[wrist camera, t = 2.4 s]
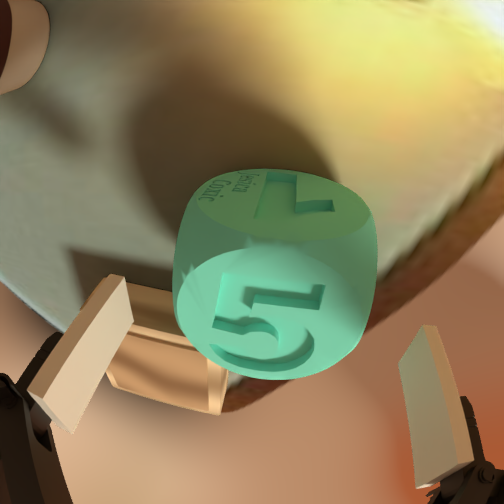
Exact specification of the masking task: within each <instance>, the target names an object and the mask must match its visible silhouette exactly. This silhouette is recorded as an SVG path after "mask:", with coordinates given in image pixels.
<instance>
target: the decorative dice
mask: <svg viewBox="0 0 504 504" xmlns="http://www.w3.org/2000/svg"><path fill="white" fill-rule="evenodd" d="M376 275H377V235H376V228H375V223H374V219H373V216H372V213H371V211H370V209H369V208H368V206H367V205H366V203H365V202H364V201H363V200H362V199H361V198H360V197H359V196H358V195H357V194H356V193H354V192H353V191H352V190H350V189H348V188H347V187H345V186H343V185H341V184H339V183H337V182H334V181H332V180H329V179H326V178H323V177H320V176H316V175H313V174H308V173H304V172H298V171H292V170H283V169H247V170H240V171H234V172H229V173H225V174H222V175H219V176H216V177H214V178H212V179H210V180H208V181H207V182H205V183H204V184H203V185H202V186H200V187H199V188H198V189H197V190H196V191H195V193H194V194H193V195H192V197H191V199H190V201H189V203H188V205H187V207H186V210H185V212H184V215H183V218H182V221H181V225H180V229H179V233H178V237H177V242H176V248H175V254H174V263H173V276H172V295H173V306H174V313H175V317H176V321H177V323H178V326H179V328H180V329H181V330H182V332H183V333H184V335H185V336H186V337H187V339H188V340H189V341H190V343H191V344H192V345H193V346H194V347H195V348H196V349H197V350H198V351H199V352H200V353H201V354H202V355H204V356H205V357H206V358H208V359H209V360H211V361H212V362H214V363H215V364H217V365H219V366H221V367H223V368H225V369H227V370H230V371H232V372H235V373H238V374H241V375H245V376H249V377H254V378H260V379H269V380H285V379H295V378H301V377H305V376H309V375H312V374H315V373H318V372H321V371H323V370H325V369H327V368H329V367H330V366H332V365H334V364H335V363H337V362H338V361H340V360H341V359H342V358H343V357H345V356H346V355H347V354H348V353H350V352H351V351H352V350H353V349H354V348H355V347H356V345H357V344H358V342H359V340H360V338H361V336H362V334H363V332H364V329H365V327H366V324H367V321H368V318H369V314H370V310H371V306H372V302H373V297H374V291H375V284H376Z"/></svg>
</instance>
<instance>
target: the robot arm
mask: <svg viewBox="0 0 504 504" xmlns="http://www.w3.org/2000/svg"><path fill="white" fill-rule="evenodd" d="M133 322H134V320H133V315H132V311H131V306H130V302H129V297H128V292H127V287H126V281H125V277H123V276H119V275H114V274H110V275H109V276H108V277H107V278H106V279H105V281H104V282H103V283H102V284H101V286H100V287H99V288H98V290H97V291H96V292H95V293H94V295H93V296H92V297H91V298H90V300H89V301H88V302H87V304H86V305H85V306H84V308H83V309H82V310H81V312H80V313H79V314H78V316H77V317H76V318H75V320H74V321H73V322H72V324H71V325H70V326H69V328H68V329H67V331H66V332H65V333H64V334H62V333H60V332H55V333H54V334H53V335H51V336H50V337H49V338H47V339H46V341H45V342H44V344H43V345H42V346H41V349H40V350H39V351H38V352H37V353H36V355H35V357H34V358H33V359H32V361H31V362H30V363H29V365H28V366H27V368H26V369H25V371H24V372H23V374H22V375H21V377H20V378H19V380H18V382H17V383H16V384H14V383H13V381H12V380H11V379H10V377H9V376H8V375H6V374H4V373H0V504H73V502H72V499H71V496H70V494H69V491H68V488H67V485H66V482H65V479H64V476H63V472H62V469H61V466H60V462H59V458H58V455H57V451H56V447H55V443H54V439H53V435H52V430H51V427H50V423H51V421H53V422H54V423H55V424H56V425H57V426H58V427H59V428H61V429H63V430H65V431H67V432H69V433H71V434H73V433H74V431H75V429H76V427H77V425H78V422H79V421H80V419H81V417H82V414H83V413H84V411H85V409H86V407H87V405H88V403H89V401H90V399H91V397H92V395H93V393H94V391H95V390H96V388H97V386H98V384H99V382H100V380H101V378H102V376H103V375H104V373H105V371H106V369H107V367H108V366H109V364H110V362H111V360H112V358H113V357H114V355H115V353H116V351H117V349H118V348H119V346H120V344H121V342H122V341H123V339H124V337H125V335H126V334H127V332H128V330H129V329H130V327H131V325H132V323H133ZM398 366H399V371H400V376H401V381H402V386H403V392H404V398H405V403H406V409H407V416H408V422H409V429H410V436H411V444H412V453H413V462H414V473H415V485H416V489H417V488H422V487H429V486H432V485H434V484H436V483H438V482H440V487H438V488H436V489H434V490H432V491H430V492H429V493H428V494H427V495H426V496H427V497H428V496H430V495H432V494H434V495H433V496H432V497H431V498H430V501H429V502H428V504H504V470H499V469H495V467H494V465H493V464H492V463H491V462H488V461H486V460H485V457H484V454H483V449H482V444H481V440H480V435H479V431H478V428H477V423H476V419H475V418H474V417H475V415H474V411H473V408H472V405H471V404H470V402H469V401H468V399H467V397H466V396H461V397H459V393H458V390H457V386H456V383H455V380H454V376H453V373H452V370H451V367H450V364H449V361H448V358H447V355H446V352H445V349H444V346H443V344H442V341H441V338H440V336H439V333H438V330H437V327H436V326H431V325H422V326H421V328H420V330H419V331H418V333H417V335H416V337H415V338H414V340H413V341H412V343H411V344H410V346H409V348H408V349H407V351H406V352H405V354H404V355H403V357H402V359H401V360H400V361H399V363H398Z"/></svg>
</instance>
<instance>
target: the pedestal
mask: <svg viewBox="0 0 504 504" xmlns="http://www.w3.org/2000/svg"><path fill="white" fill-rule="evenodd" d="M105 279H106V278H105V277H104V278H103V279H102V280H101V282H100V283H99V284H98V285H97V287H96V288H95V289H94V291H93V292H92V293H91V295H90V296H89V297H88V299H87V300H86V301H85V303H84V304H83V305H82V307H81V308H80V311H81V310H82V309H83V308H84V306H85V305H86V304H87V302H88V301H89V300H90V298H91V297H92V296H93V295H94V293H95V292H96V291H97V290H98V288H99V287H100V286H101V284H102V283H103V282H104V281H105ZM126 287H127V292H128V297H129V302H130V306H131V311H132V315H133V320H134V322H133V323H132V325H131V327H130V329H129V330H128V332H127V334H126V335H125V337H124V339H123V341H122V342H121V344H120V346H119V348H118V349H117V351H116V353H115V355H114V357H113V358H112V360H111V362H110V364H109V366H108V367H107V369H106V373H107V376H108V378H109V380H110V382H111V384H112V386H113V387H116V388H119V389H121V390H125V391H128V392H130V393H134V394H137V395H140V396H144V397H147V398H150V399H154V400H157V401H161V402H164V403H168V404H172V405H175V406H179V407H183V408H187V409H191V410H196V411H200V412H205V413H210V414H214V415H219V416H220V413H221V409H222V405H223V400H224V396H225V392H226V388H227V383H228V373H229V370H227V369H225V368H223V367H221V366H219V365H217V364H215V363H214V362H212V361H211V360H209V359H208V358H206V357H205V356H204V355H202V354H201V353H200V352H199V351H198V350H197V349H196V348H195V347H194V346H193V345H192V344H191V343H190V341H189V340H188V339H187V337H186V336H185V335H184V333H183V332H182V330H181V329H180V328H179V326H178V323H177V321H176V317H175V313H174V306H173V295H172V292H170V291H165V290H160V289H155V288H150V287H146V286H141V285H136V284H132V283H127V282H126Z"/></svg>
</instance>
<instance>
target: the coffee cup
mask: <svg viewBox="0 0 504 504" xmlns="http://www.w3.org/2000/svg"><path fill="white" fill-rule="evenodd" d="M49 32H50V22H49V17H48V13H47V11H46V9H45V8H44V6H43V5H42V4H41V3H39V2H37V1H35V0H0V95H2V94H4V93H7V92H10V91H12V90H15V89H18V88H20V87H21V86H23V85H24V84H26V83H27V82H28V81H29V80H30V79H31V78H32V76H33V75H34V74H35V73H36V71H37V69H38V68H39V66H40V64H41V62H42V60H43V58H44V55H45V52H46V49H47V45H48V40H49Z"/></svg>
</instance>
